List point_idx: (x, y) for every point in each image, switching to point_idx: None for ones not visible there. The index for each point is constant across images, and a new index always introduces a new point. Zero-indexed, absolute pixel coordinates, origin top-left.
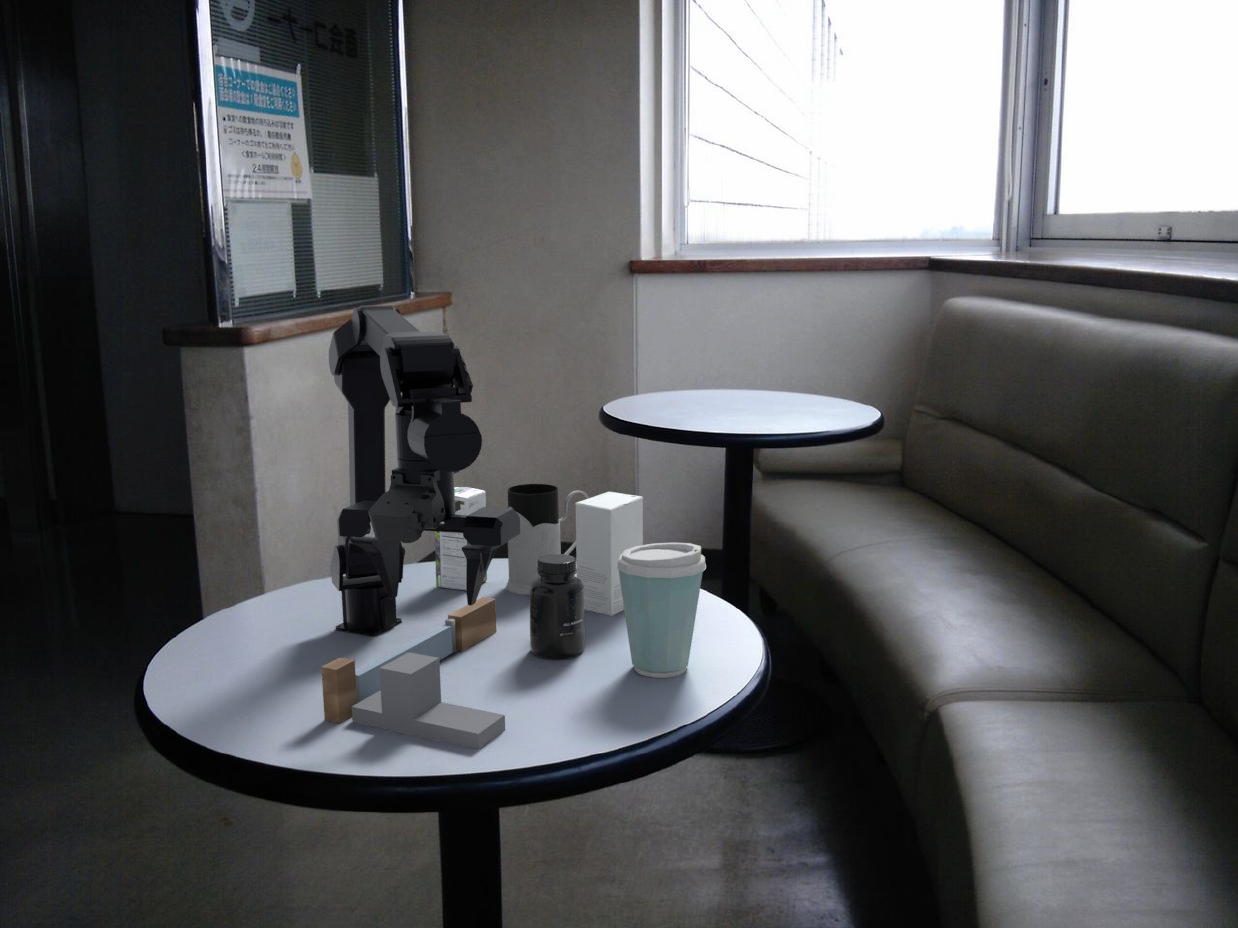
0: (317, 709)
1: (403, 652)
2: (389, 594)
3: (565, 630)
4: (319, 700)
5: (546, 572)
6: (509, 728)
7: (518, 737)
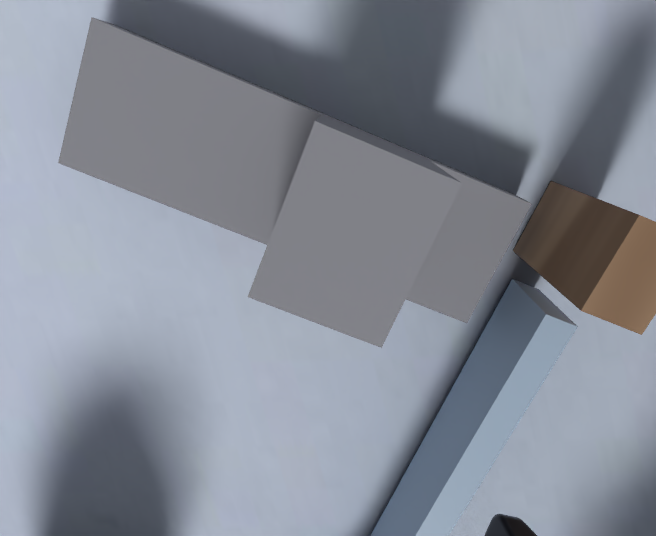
0: None
1: (440, 491)
2: (524, 532)
3: None
4: None
5: None
6: None
7: (30, 111)
